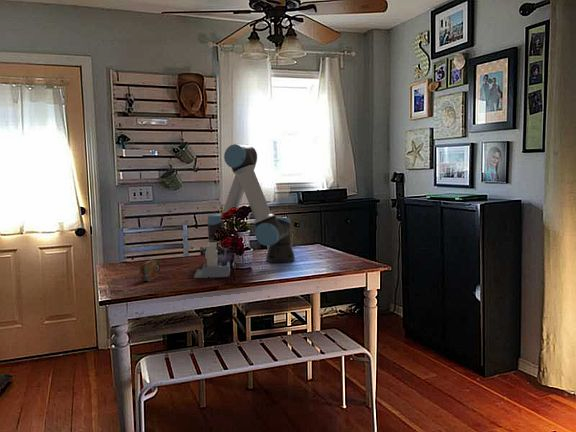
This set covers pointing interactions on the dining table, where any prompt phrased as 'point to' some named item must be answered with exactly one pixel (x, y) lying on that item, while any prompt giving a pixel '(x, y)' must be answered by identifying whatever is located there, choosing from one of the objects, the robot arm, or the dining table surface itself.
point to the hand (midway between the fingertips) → (211, 255)
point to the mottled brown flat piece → (149, 270)
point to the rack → (213, 271)
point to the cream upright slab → (211, 254)
